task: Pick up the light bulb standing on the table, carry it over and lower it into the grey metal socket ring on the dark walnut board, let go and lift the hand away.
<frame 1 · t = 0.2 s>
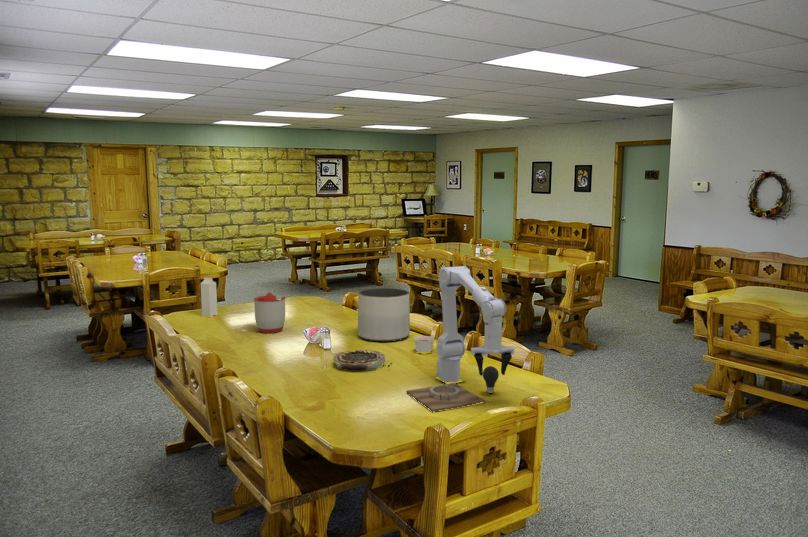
hand: (491, 374, 201), 10 cm above the table, tool pointing down, fingers open, 7 cm apart
citrus juicer: (271, 330, 302), on the table
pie: (358, 366, 245), on the table
socket board: (444, 398, 207), on the table
milk: (209, 316, 335), on the table
socket ring: (444, 392, 206), on the socket board, point 1 cm above the table
light bulb: (490, 394, 211), on the table
planter: (383, 336, 291), on the table
candle: (423, 352, 263), on the table
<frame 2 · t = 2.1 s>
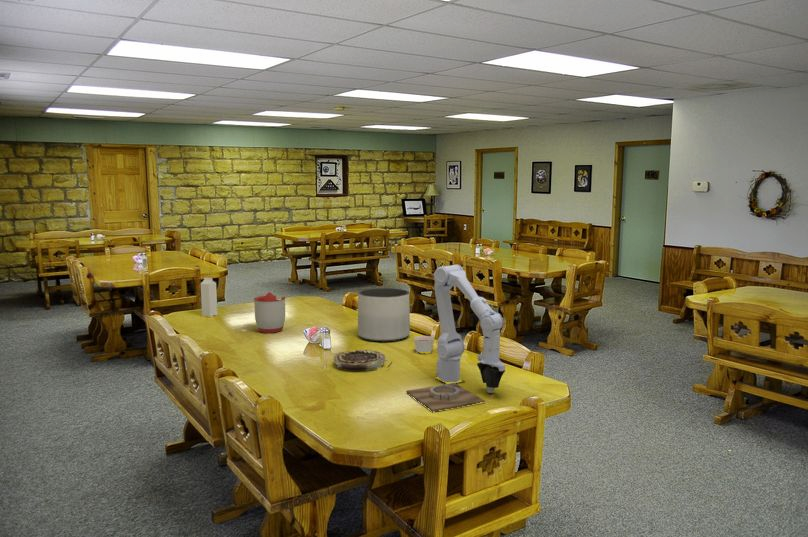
hand: (490, 385, 211), 3 cm above the table, tool pointing down, fingers closed on light bulb, 5 cm apart
light bulb: (490, 394, 211), on the table, touching gripper
everything else where it was.
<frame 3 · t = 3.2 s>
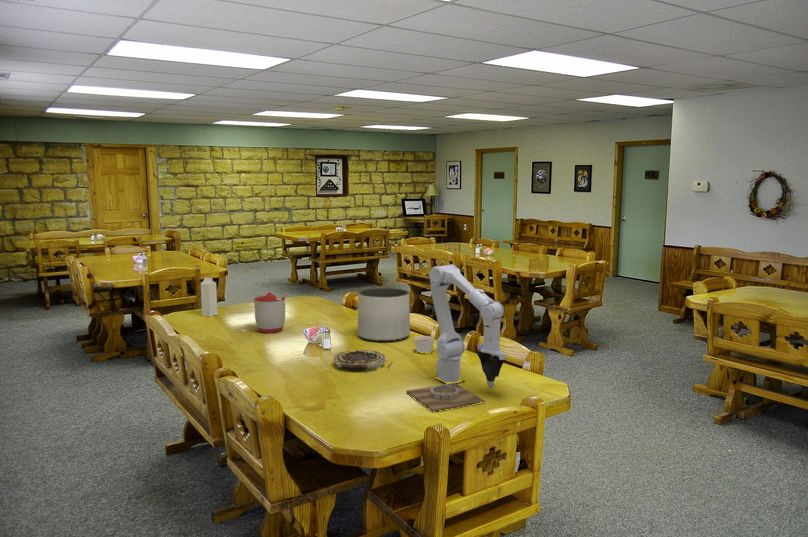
hand: (490, 374, 210), 7 cm above the table, tool pointing down, fingers closed on light bulb, 5 cm apart
light bulb: (490, 388, 211), point 2 cm above the table, touching gripper
everything else where it was.
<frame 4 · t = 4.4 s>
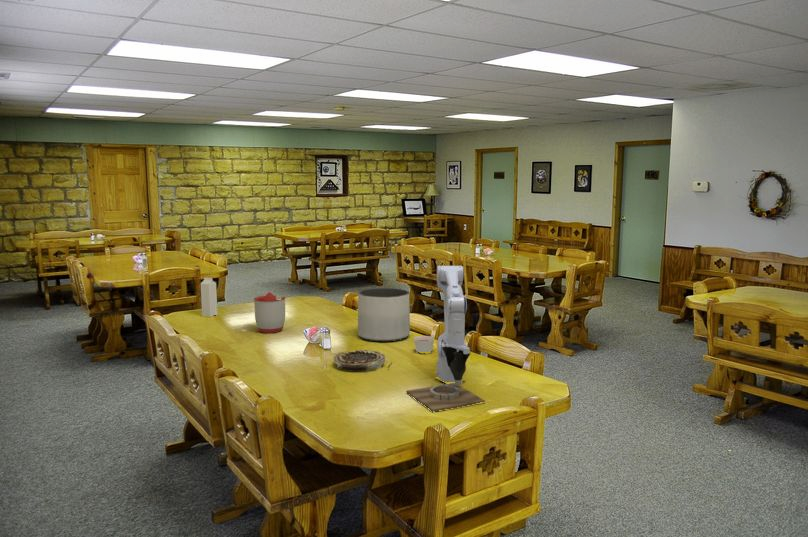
hand: (455, 369, 206), 10 cm above the table, tool pointing down, fingers closed on light bulb, 6 cm apart
light bulb: (458, 387, 208), point 4 cm above the table, touching gripper
everything else where it was.
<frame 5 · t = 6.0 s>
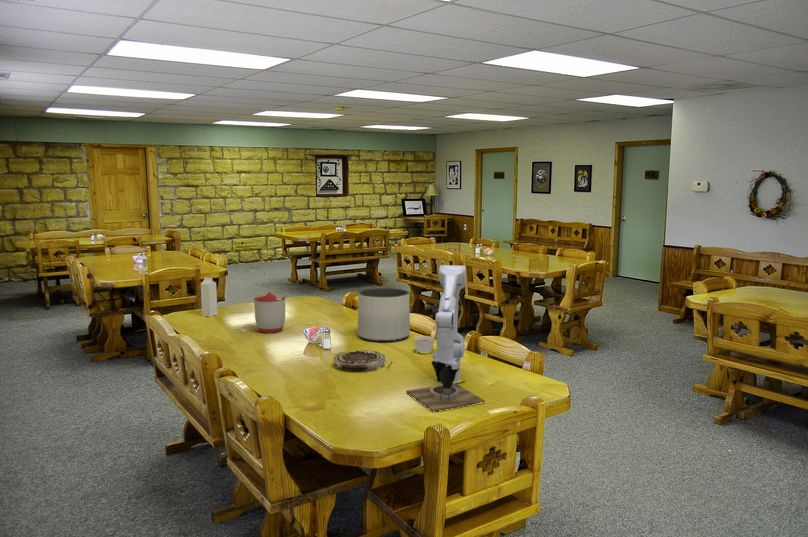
hand: (444, 383, 206), 5 cm above the table, tool pointing down, fingers closed on light bulb, 5 cm apart
light bulb: (447, 395, 207), point 1 cm above the table, touching gripper, socket board
everything else where it was.
when the fingers open (5 cm above the table, at t = 6.7 s): light bulb stays where it is, resting on socket board.
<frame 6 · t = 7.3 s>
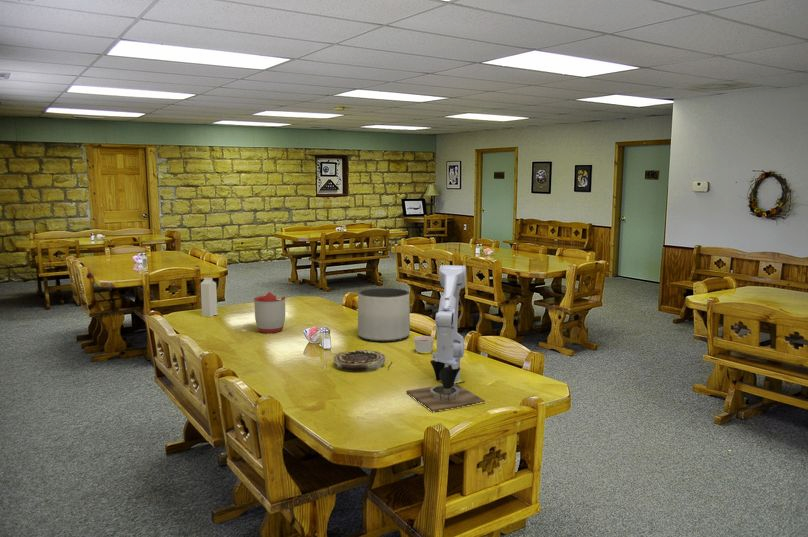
hand: (444, 383, 206), 5 cm above the table, tool pointing down, fingers open, 7 cm apart
light bulb: (447, 395, 207), point 1 cm above the table, touching socket board
everything else where it was.
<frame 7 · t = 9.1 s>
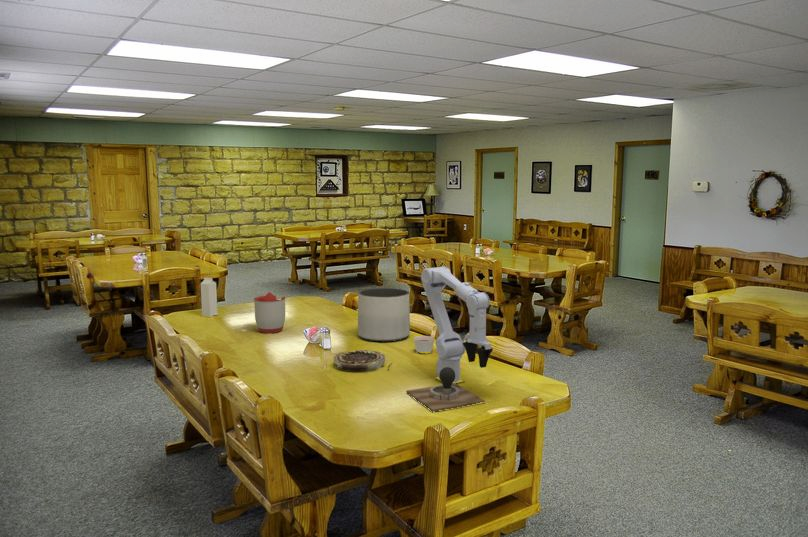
hand: (477, 364, 211), 10 cm above the table, tool pointing down, fingers open, 7 cm apart
nothing on the table moved.
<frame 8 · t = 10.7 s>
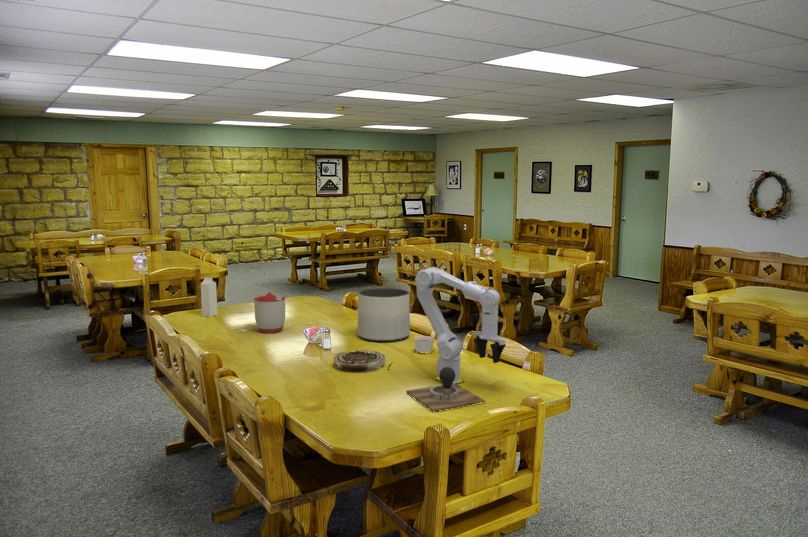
hand: (489, 360, 216), 10 cm above the table, tool pointing down, fingers open, 7 cm apart
nothing on the table moved.
at the end: light bulb 1.0 cm off-centre on the socket ring, point 0.8 cm above the socket ring's base; light bulb tilted 0°; the gripper is holding nothing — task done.
